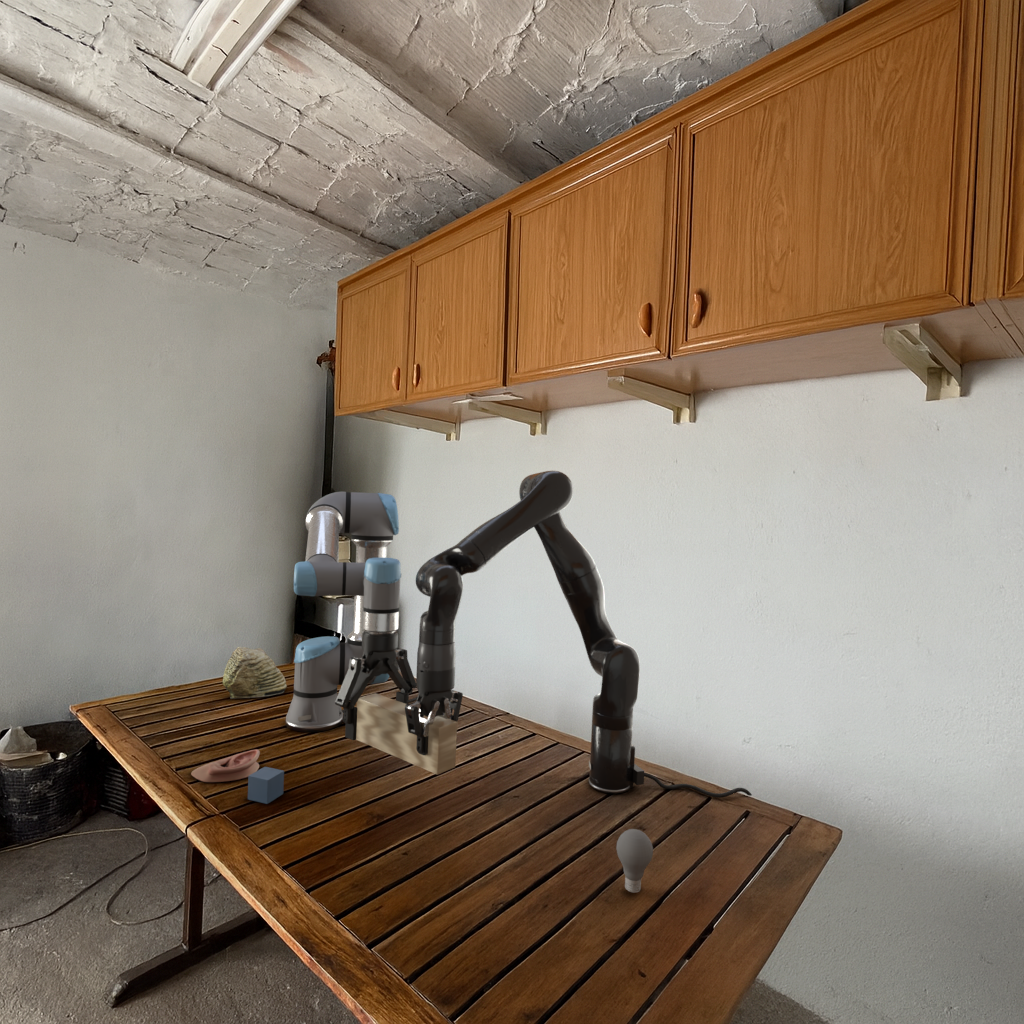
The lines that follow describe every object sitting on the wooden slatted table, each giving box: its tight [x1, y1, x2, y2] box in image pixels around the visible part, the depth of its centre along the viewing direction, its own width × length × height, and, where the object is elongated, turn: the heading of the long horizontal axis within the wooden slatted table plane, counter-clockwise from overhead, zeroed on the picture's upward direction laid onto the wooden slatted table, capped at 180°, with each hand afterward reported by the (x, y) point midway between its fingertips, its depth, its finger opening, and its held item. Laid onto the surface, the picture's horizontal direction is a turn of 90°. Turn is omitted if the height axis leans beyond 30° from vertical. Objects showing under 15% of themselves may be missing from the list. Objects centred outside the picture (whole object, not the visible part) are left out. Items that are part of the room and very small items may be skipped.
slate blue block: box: [247, 766, 285, 805], centre depth 133 cm, size 5×5×5 cm
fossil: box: [222, 646, 288, 699], centre depth 198 cm, size 9×18×15 cm, turn 132°
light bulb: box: [615, 828, 654, 894], centre depth 106 cm, size 6×6×10 cm
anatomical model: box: [190, 748, 261, 783], centre depth 143 cm, size 13×4×12 cm
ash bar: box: [355, 692, 458, 776], centre depth 130 cm, size 25×5×9 cm, turn 51°
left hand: (376, 730), depth 135 cm, fingers open, 13 cm apart
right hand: (433, 749), depth 125 cm, fingers closed on ash bar, 5 cm apart
